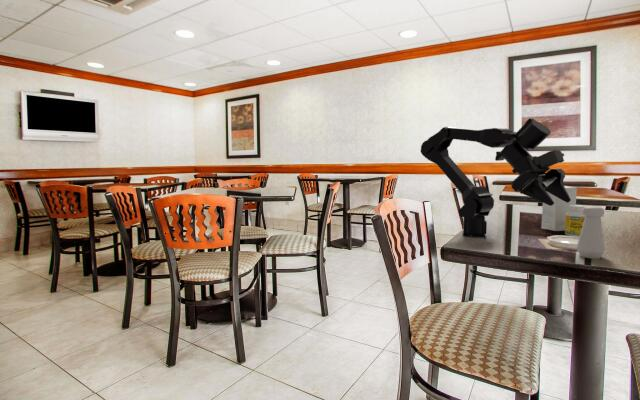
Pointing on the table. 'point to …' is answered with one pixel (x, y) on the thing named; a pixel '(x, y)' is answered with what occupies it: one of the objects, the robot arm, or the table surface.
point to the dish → (563, 241)
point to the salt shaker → (592, 234)
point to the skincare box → (557, 211)
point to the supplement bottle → (574, 220)
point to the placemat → (545, 243)
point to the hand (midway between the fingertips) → (561, 203)
